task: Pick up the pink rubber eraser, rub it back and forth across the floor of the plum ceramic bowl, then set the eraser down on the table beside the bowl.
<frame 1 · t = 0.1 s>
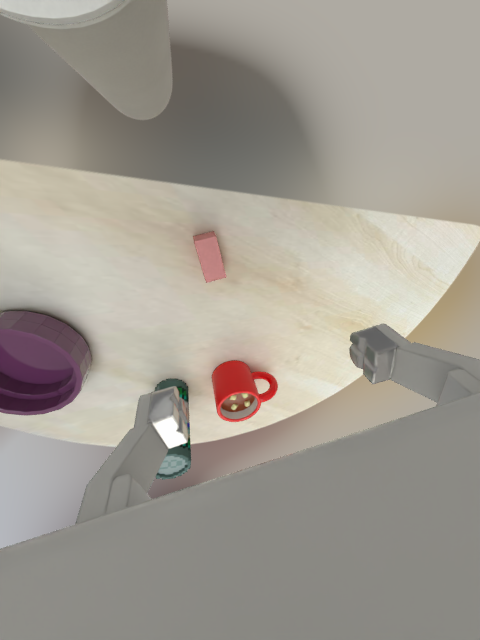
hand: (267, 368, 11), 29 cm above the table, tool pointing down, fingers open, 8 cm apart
can: (171, 389, 49), on the table
bowl: (36, 352, 39), on the table
mug: (241, 372, 51), on the table
eraser: (208, 254, 37), on the table
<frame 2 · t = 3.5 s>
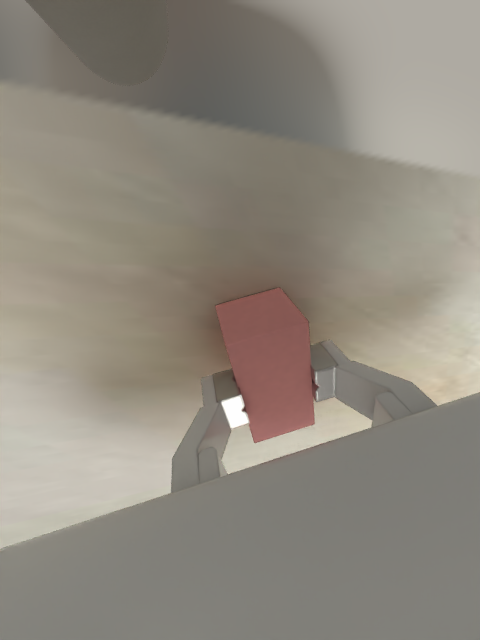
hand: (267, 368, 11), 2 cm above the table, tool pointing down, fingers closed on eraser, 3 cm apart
eraser: (258, 347, 13), on the table, touching gripper
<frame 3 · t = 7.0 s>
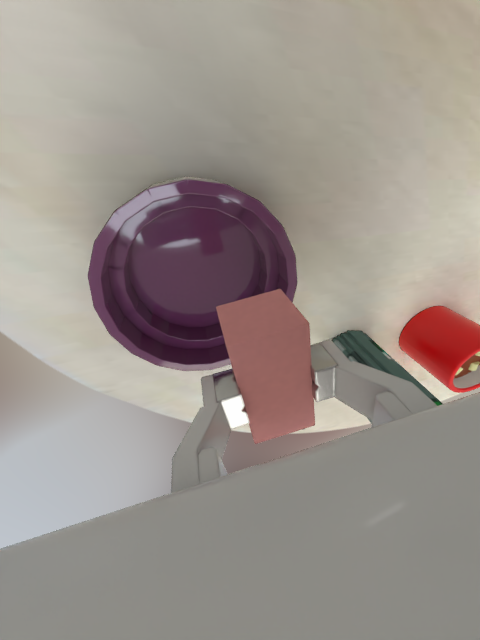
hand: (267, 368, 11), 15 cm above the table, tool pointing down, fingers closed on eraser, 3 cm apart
can: (345, 348, 34), on the table
bowl: (197, 270, 24), on the table
mug: (437, 326, 36), on the table
eraser: (258, 348, 13), point 14 cm above the table, touching gripper
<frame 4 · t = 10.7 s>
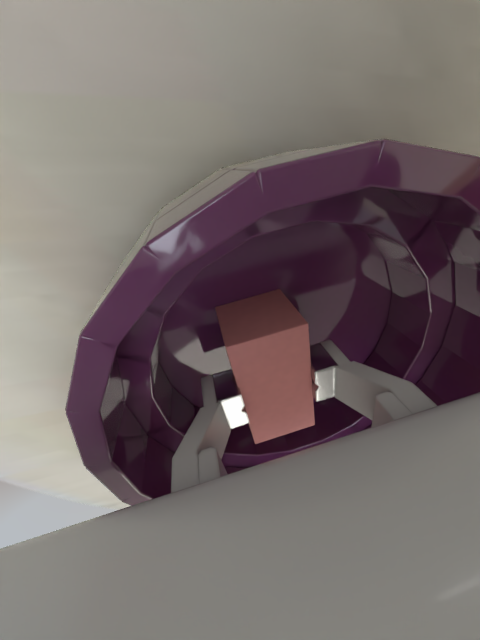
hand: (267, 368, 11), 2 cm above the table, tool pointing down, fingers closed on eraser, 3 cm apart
bowl: (275, 330, 13), on the table
eraser: (258, 348, 13), point 1 cm above the table, touching bowl, gripper
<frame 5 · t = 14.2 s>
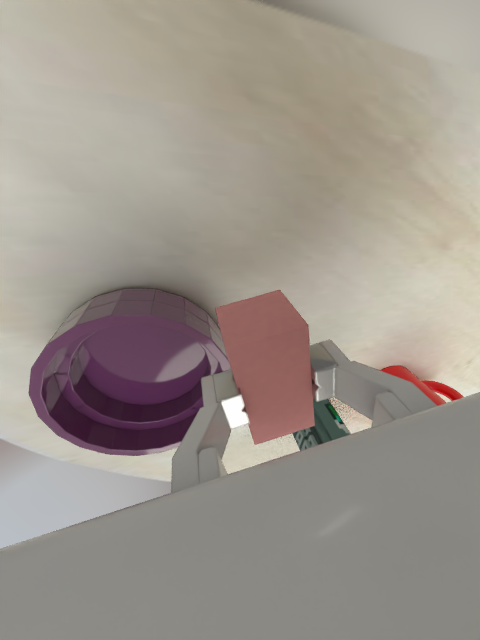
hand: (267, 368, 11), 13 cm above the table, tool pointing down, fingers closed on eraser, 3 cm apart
can: (306, 407, 35), on the table
bowl: (148, 356, 26), on the table
mug: (396, 382, 37), on the table
eraser: (258, 349, 13), point 12 cm above the table, touching gripper
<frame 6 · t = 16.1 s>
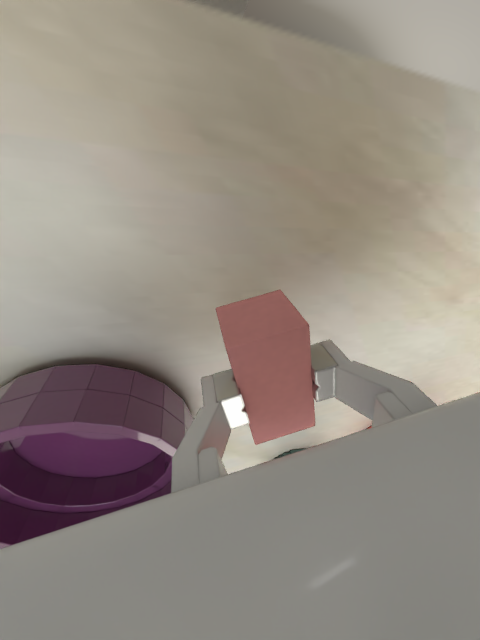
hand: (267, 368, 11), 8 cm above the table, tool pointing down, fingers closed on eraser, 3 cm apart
bowl: (99, 428, 22), on the table
eraser: (258, 349, 13), point 6 cm above the table, touching gripper
when the fingers open (1 cm above the table, at t = 17.8 s): eraser stays where it is, on the table.
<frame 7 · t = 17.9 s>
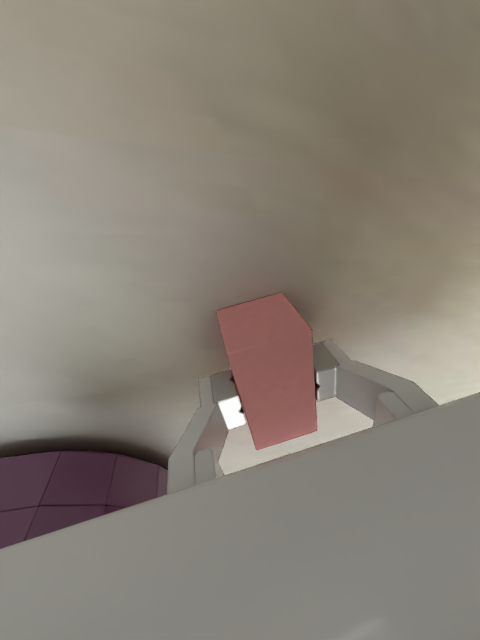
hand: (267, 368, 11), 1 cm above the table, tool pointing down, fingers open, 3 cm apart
bowl: (73, 513, 16), on the table
eraser: (259, 352, 13), on the table
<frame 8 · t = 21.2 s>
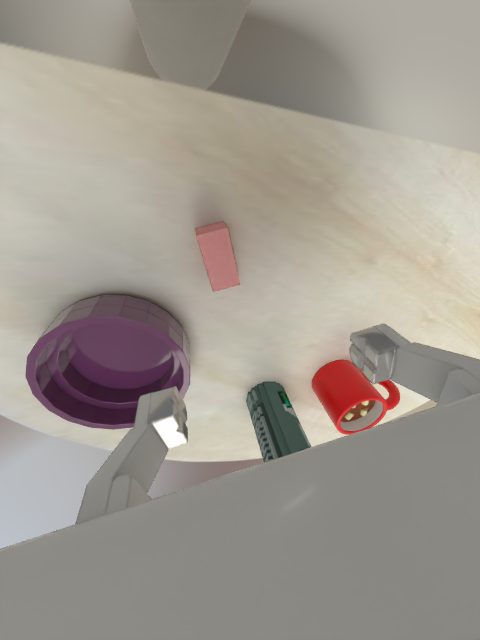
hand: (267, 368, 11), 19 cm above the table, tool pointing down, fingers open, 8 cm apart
can: (264, 394, 41), on the table
bowl: (124, 349, 31), on the table
mug: (344, 374, 43), on the table
eraser: (216, 252, 27), on the table
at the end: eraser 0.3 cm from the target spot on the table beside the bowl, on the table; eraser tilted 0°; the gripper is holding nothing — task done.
